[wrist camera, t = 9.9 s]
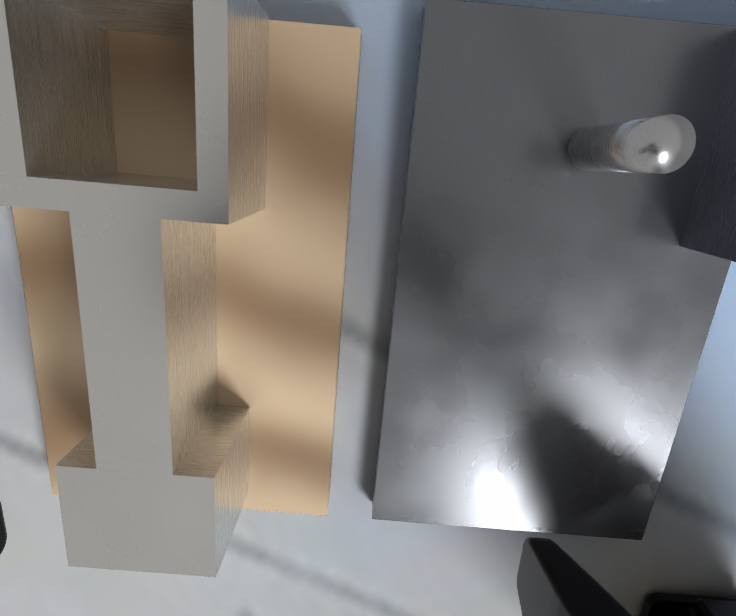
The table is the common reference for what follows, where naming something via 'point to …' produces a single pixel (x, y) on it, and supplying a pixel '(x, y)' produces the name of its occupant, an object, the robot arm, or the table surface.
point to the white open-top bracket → (142, 268)
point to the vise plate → (554, 265)
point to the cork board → (229, 254)
